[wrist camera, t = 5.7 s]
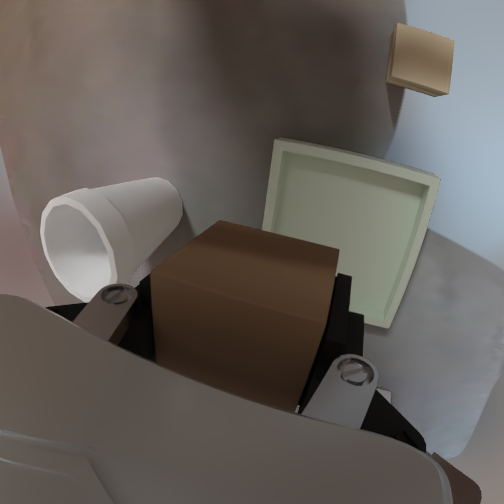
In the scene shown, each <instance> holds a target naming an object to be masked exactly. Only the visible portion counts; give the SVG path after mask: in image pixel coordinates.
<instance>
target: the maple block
mask: <svg viewBox="0 0 504 504" xmlns="http://www.w3.org/2000/svg"><path fill="white" fill-rule="evenodd" d="M453 50H454V40H451V39H448V38H446V37H443V36H440V35H437V34H434V33H431V32H428V31H425V30H422V29H419V28H415V27H412V26H408V25H405V24H401V23H397V25H396V27H395V29H394V31H393V33H392V35H391V41H390V51H389V59H388V67H387V75H386V82H385V83H389V84H393V85H396V86H400V87H404V88H407V89H410V90H414V91H417V92H420V93H424V94H427V95H430V96H433V97H436V96H441V95H446V94H449V88H450V80H451V71H452V62H453Z"/></svg>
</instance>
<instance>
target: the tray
mask: <svg viewBox="0 0 504 504" xmlns="http://www.w3.org/2000/svg"><path fill="white" fill-rule="evenodd" d="M440 181H441V179H440V178H438V177H437V176H436V175H435V174H433V173H430V172H426V171H423V170H420V169H417V168H413V167H410V166H406V165H403V164H399V163H396V162H392V161H388V160H384V159H381V158H377V157H373V156H369V155H365V154H361V153H356V152H352V151H348V150H343V149H339V148H334V147H329V146H324V145H320V144H315V143H309V142H304V141H299V140H293V139H287V138H282V137H281V138H278V139H274V146H273V153H272V160H271V168H270V175H269V182H268V190H267V197H266V204H265V211H264V219H263V226H262V230H264V231H268V232H272V233H276V234H280V235H284V236H288V237H293V238H297V239H301V240H305V241H309V242H313V243H317V244H321V245H325V246H329V247H333V248H337V249H340V252H339V258H338V264H337V269H336V275H335V276H337V274H338V273H341V274H345V275H349V276H352V283H351V295H350V306H349V311H351V312H355V313H359V314H363V315H364V323H366V324H371V325H375V326H379V327H383V328H388V329H389V327H390V325H391V323H392V321H393V318H394V316H395V314H396V311H397V309H398V307H399V304H400V302H401V299H402V297H403V294H404V292H405V289H406V287H407V284H408V282H409V279H410V276H411V274H412V271H413V268H414V266H415V263H416V260H417V257H418V254H419V251H420V249H421V246H422V243H423V240H424V236H425V233H426V230H427V227H428V224H429V221H430V217H431V214H432V210H433V207H434V203H435V200H436V196H437V192H438V188H439V185H440Z"/></svg>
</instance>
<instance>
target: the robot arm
mask: <svg viewBox="0 0 504 504" xmlns="http://www.w3.org/2000/svg"><path fill="white" fill-rule="evenodd" d="M351 283H352V276H349V275H345V274H341V273H338V274H337V276H335V281H334V286H333V292H332V297H331V302H330V307H329V312H328V317H327V322H326V326H325V329H324V332H323V335H322V338H321V341H320V344H319V347H318V350H317V353H316V355H315V358H314V361H313V364H312V367H311V370H310V372H309V375H308V378H307V381H306V383H305V386H304V389H303V391H302V394H301V397H300V399H299V402H298V404H297V405H300V407H299V411H298V413H295V412H292V411H288V410H285V409H281V408H278V407H274V406H271V405H268V404H265V403H261V402H258V401H255V400H252V399H249V398H246V397H243V396H240V395H237V394H234V393H231V392H228V391H226V390H223V389H220V388H217V387H215V386H212V385H209V384H206V383H204V382H201V381H199V380H196V379H193V378H191V377H188V376H186V375H183V374H181V373H178V372H176V371H174V370H171V369H169V368H166V367H164V366H162V365H159V364H157V363H156V353H155V342H154V329H153V315H152V298H151V276H150V274H149V275H147V276H146V277H145V278H144V279H142V280H141V281H140V284H139V285H138V286H137V287H135V288H133V287H132V286H130V285H127V284H121V283H118V284H111V285H107V286H105V287H103V288H102V289H100V290H99V291H98V292H97V294H96V295H95V296H94V297H93V298H92V299H91V301H90V302H87V303H79V304H70V305H61V306H52V307H46V308H45V307H43V306H41V305H39V304H37V303H35V302H32V301H30V300H28V299H25V298H21V297H18V296H13V295H6V294H0V504H480V502H481V498H482V497H481V490H480V488H479V486H478V485H477V484H476V483H475V482H474V481H473V480H471V479H470V478H469V477H468V476H466V475H465V474H463V473H462V472H461V471H459V470H458V469H456V468H455V467H454V466H453V465H451V464H450V463H448V462H447V461H446V460H444V459H443V458H442V457H440V456H439V455H438V454H436V453H435V452H434V453H433V454H432V455H431V454H430V453H428V452H427V451H426V443H425V441H424V438H423V437H422V435H421V434H420V433H419V432H418V431H417V430H416V429H415V428H414V427H413V426H412V425H411V424H410V423H409V422H408V421H407V420H406V419H405V418H404V417H403V416H402V415H401V414H400V413H399V412H398V411H397V410H396V409H395V408H394V407H393V406H392V405H391V404H390V403H389V402H388V401H387V400H386V399H385V398H384V397H383V396H382V395H381V394H380V392H379V391H378V390H377V389H376V386H377V383H378V381H379V373H378V369H377V368H376V367H375V365H374V364H373V363H372V362H371V361H369V360H368V359H366V358H364V357H362V356H363V337H364V315H363V314H359V313H355V312H351V311H349V306H350V295H351Z"/></svg>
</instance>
